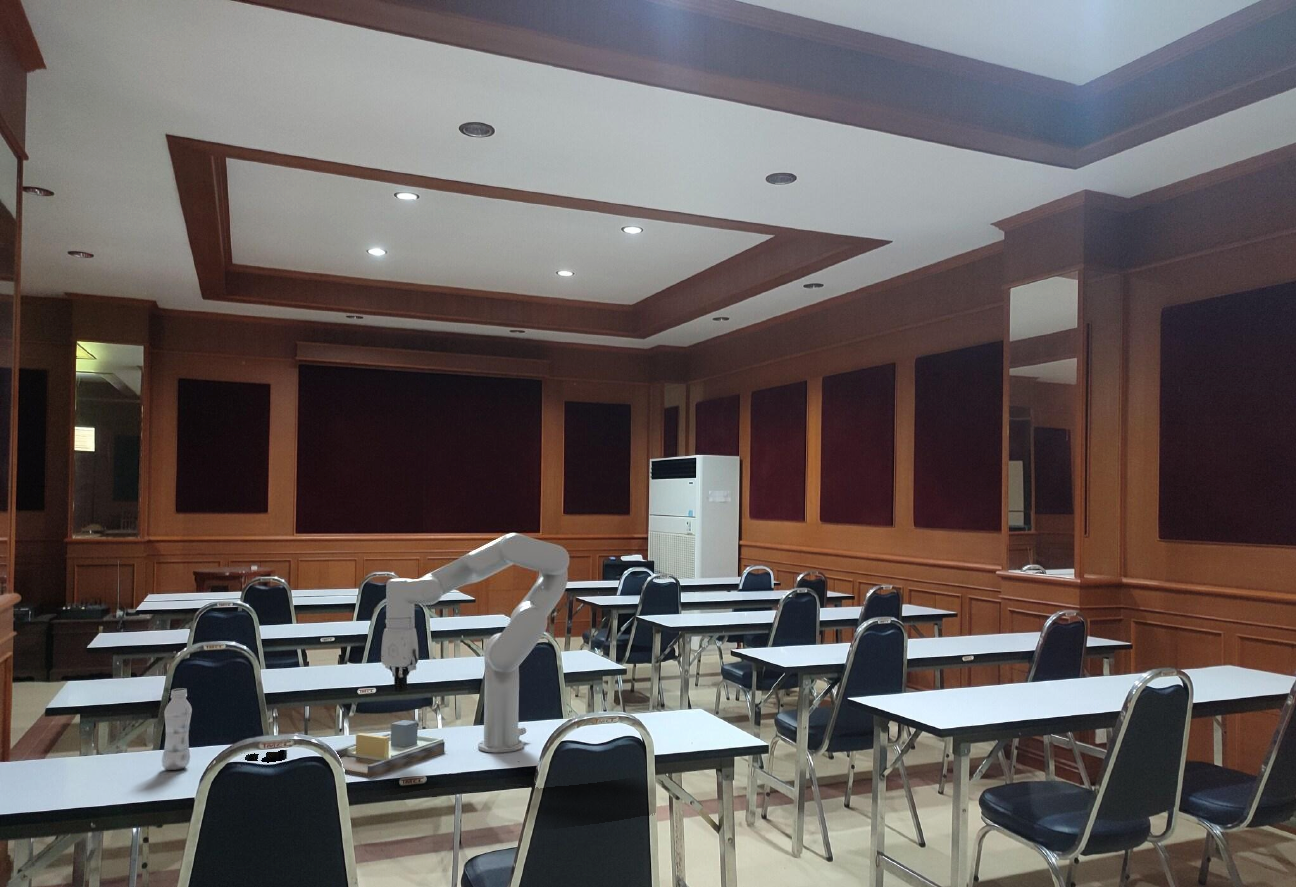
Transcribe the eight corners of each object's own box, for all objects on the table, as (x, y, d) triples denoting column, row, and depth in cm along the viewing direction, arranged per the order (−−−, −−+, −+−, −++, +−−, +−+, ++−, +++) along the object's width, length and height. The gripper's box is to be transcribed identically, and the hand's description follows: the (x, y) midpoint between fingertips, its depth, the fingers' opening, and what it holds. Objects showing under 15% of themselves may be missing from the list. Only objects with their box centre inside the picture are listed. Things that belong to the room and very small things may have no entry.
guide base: (388, 743, 260) (389, 733, 260) (444, 751, 251) (444, 741, 251) (312, 767, 235) (312, 756, 235) (371, 777, 226) (371, 766, 226)
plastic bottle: (158, 773, 229) (161, 692, 231) (164, 766, 236) (168, 687, 237) (186, 771, 231) (189, 691, 232) (192, 764, 237) (195, 686, 239)
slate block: (403, 741, 254) (403, 719, 255) (417, 743, 252) (417, 721, 252) (390, 745, 250) (391, 723, 250) (404, 747, 247) (405, 725, 248)
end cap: (285, 764, 238) (286, 738, 238) (287, 771, 231) (288, 744, 232) (243, 769, 234) (244, 742, 234) (244, 776, 227) (245, 748, 228)
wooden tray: (399, 738, 261) (399, 718, 261) (443, 745, 253) (443, 724, 254) (347, 755, 243) (347, 732, 243) (393, 762, 236) (393, 739, 236)
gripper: (370, 624, 252) (370, 691, 250) (410, 626, 244) (410, 696, 243) (391, 620, 258) (391, 686, 257) (430, 623, 251) (430, 690, 249)
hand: (400, 691), depth 250 cm, fingers closed
